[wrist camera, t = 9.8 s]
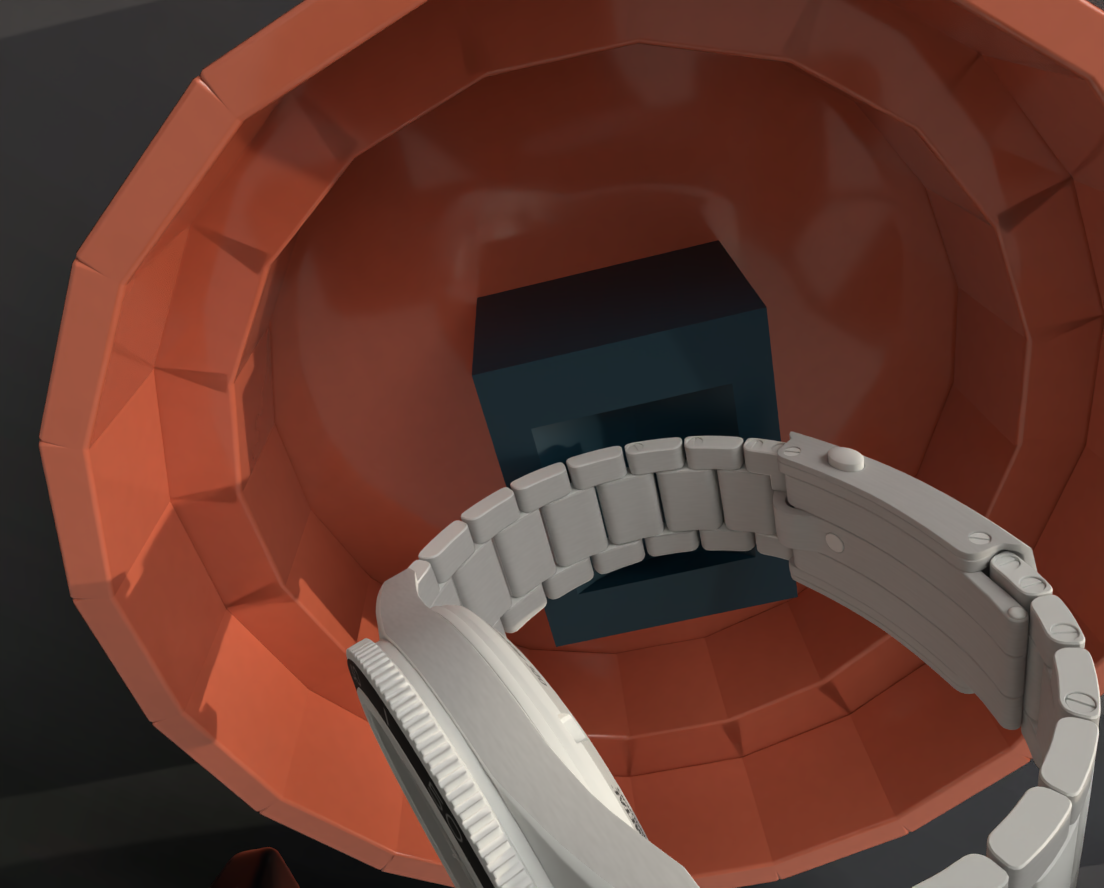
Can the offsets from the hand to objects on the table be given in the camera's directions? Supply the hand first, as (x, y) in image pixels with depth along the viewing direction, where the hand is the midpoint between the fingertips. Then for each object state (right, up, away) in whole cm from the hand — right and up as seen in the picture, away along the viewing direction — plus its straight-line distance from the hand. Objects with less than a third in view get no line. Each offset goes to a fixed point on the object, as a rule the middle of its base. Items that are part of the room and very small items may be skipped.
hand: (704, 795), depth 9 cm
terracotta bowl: (0, +5, +8) cm, 9 cm away
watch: (0, +4, +8) cm, 9 cm away
